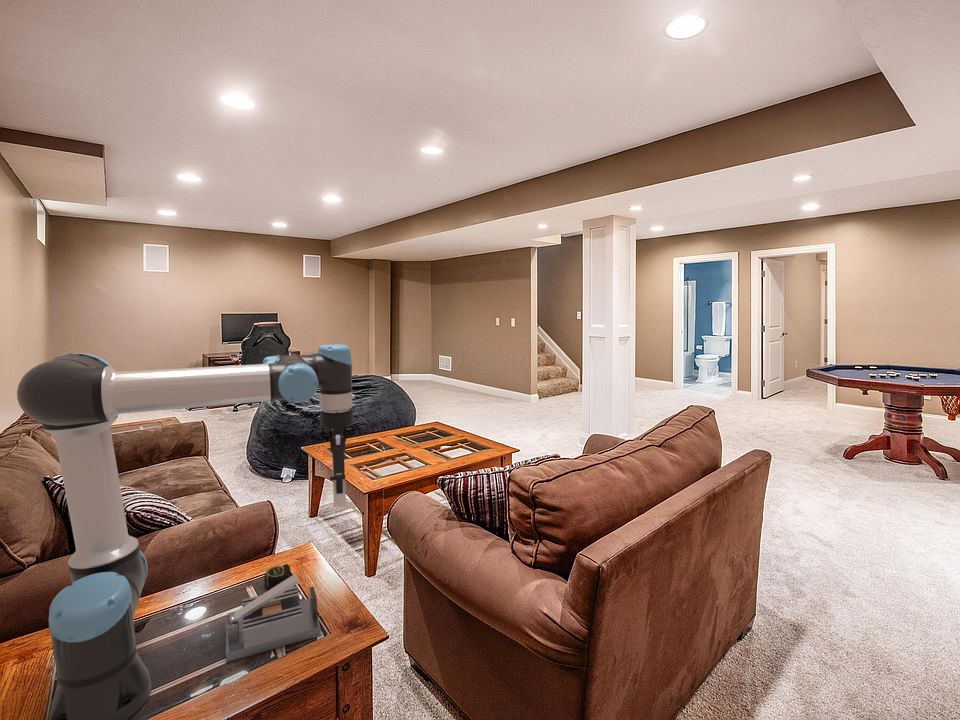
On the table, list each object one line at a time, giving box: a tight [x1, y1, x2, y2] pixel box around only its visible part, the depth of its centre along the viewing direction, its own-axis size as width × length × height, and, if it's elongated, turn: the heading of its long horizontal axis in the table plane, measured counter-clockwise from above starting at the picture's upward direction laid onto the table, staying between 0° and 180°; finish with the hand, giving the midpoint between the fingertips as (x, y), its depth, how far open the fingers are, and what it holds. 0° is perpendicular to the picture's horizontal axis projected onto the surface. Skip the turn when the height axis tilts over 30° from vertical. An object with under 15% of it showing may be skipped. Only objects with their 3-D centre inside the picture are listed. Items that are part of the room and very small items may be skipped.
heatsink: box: [225, 585, 322, 663], centre depth 112 cm, size 19×12×7 cm, turn 116°
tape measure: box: [263, 563, 293, 589], centre depth 131 cm, size 7×7×4 cm
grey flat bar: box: [229, 572, 300, 625], centre depth 111 cm, size 16×3×1 cm, turn 113°
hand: (339, 494), depth 121 cm, fingers open, 13 cm apart
